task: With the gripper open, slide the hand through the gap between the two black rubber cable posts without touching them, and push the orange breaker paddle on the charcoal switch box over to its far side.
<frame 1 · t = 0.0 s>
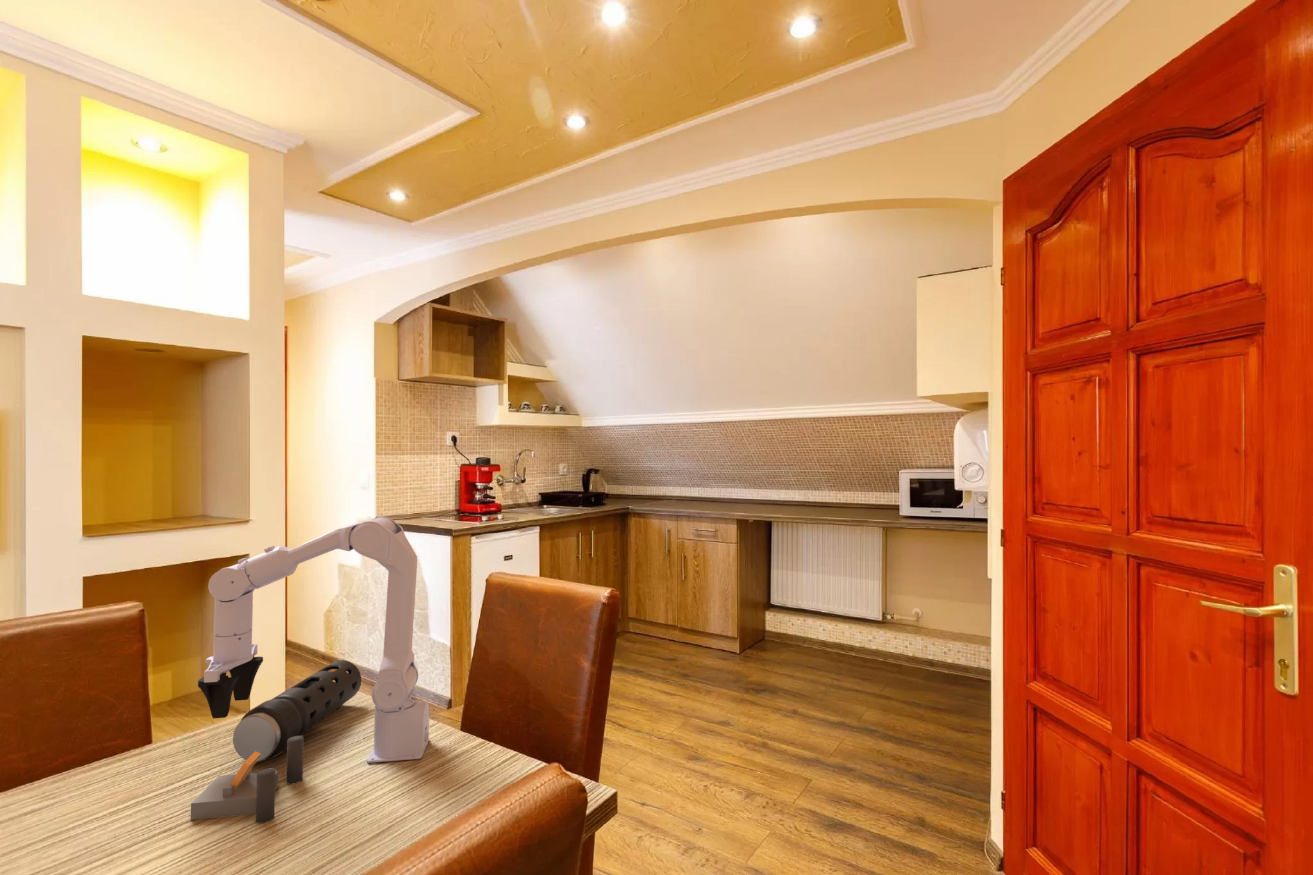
hand: (231, 708, 108), 10 cm above the table, tool pointing down, fingers open, 7 cm apart
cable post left: (265, 818, 92), on the table
breaker paddle: (244, 770, 97), point 5 cm above the table, hinge at -30.0°
switch box: (236, 802, 97), on the table
muzzle brake: (302, 735, 120), on the table
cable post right: (294, 780, 103), on the table
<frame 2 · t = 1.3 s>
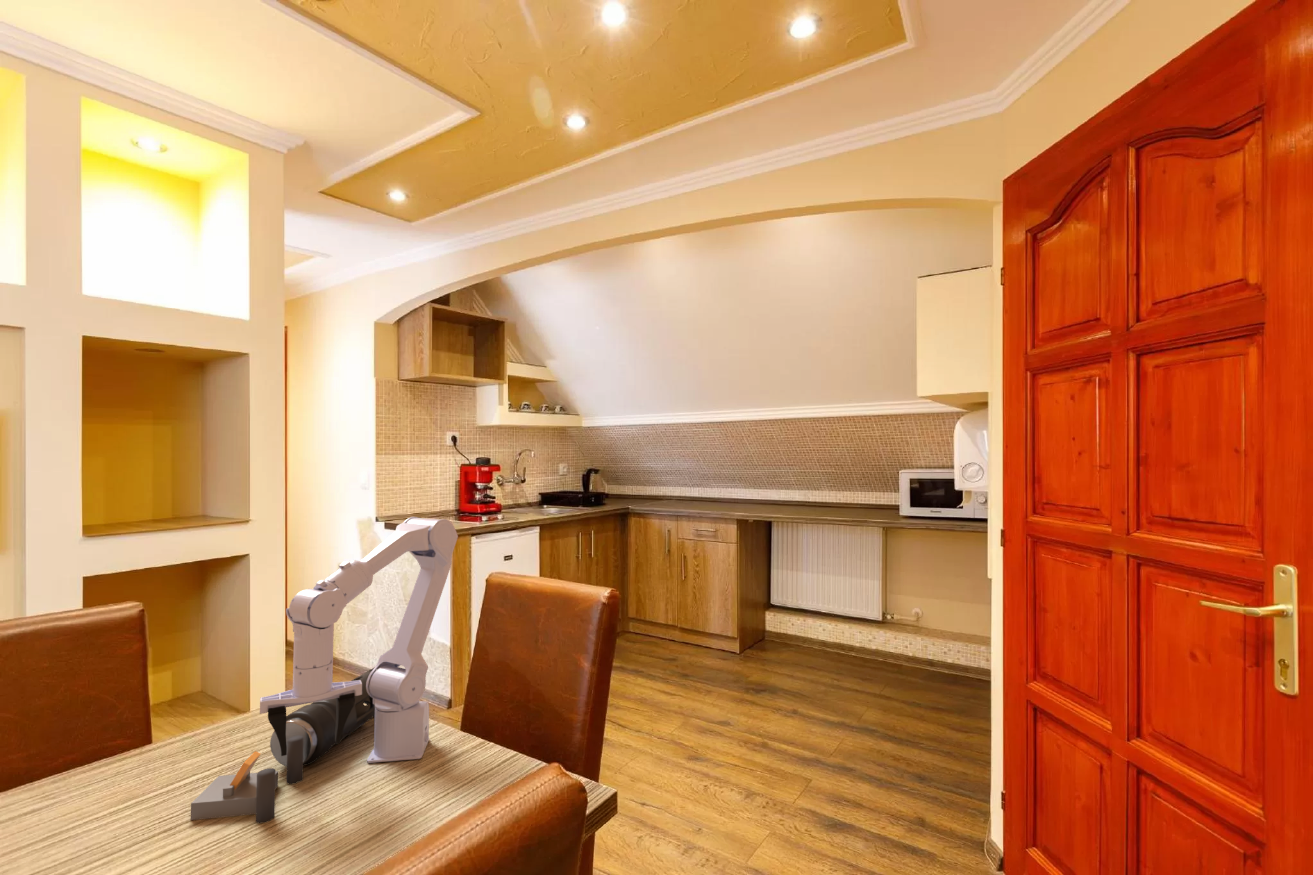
hand: (311, 746, 99), 8 cm above the table, tool pointing down, fingers open, 7 cm apart
muzzle brake: (315, 714, 121), point 4 cm above the table
everything else where it was.
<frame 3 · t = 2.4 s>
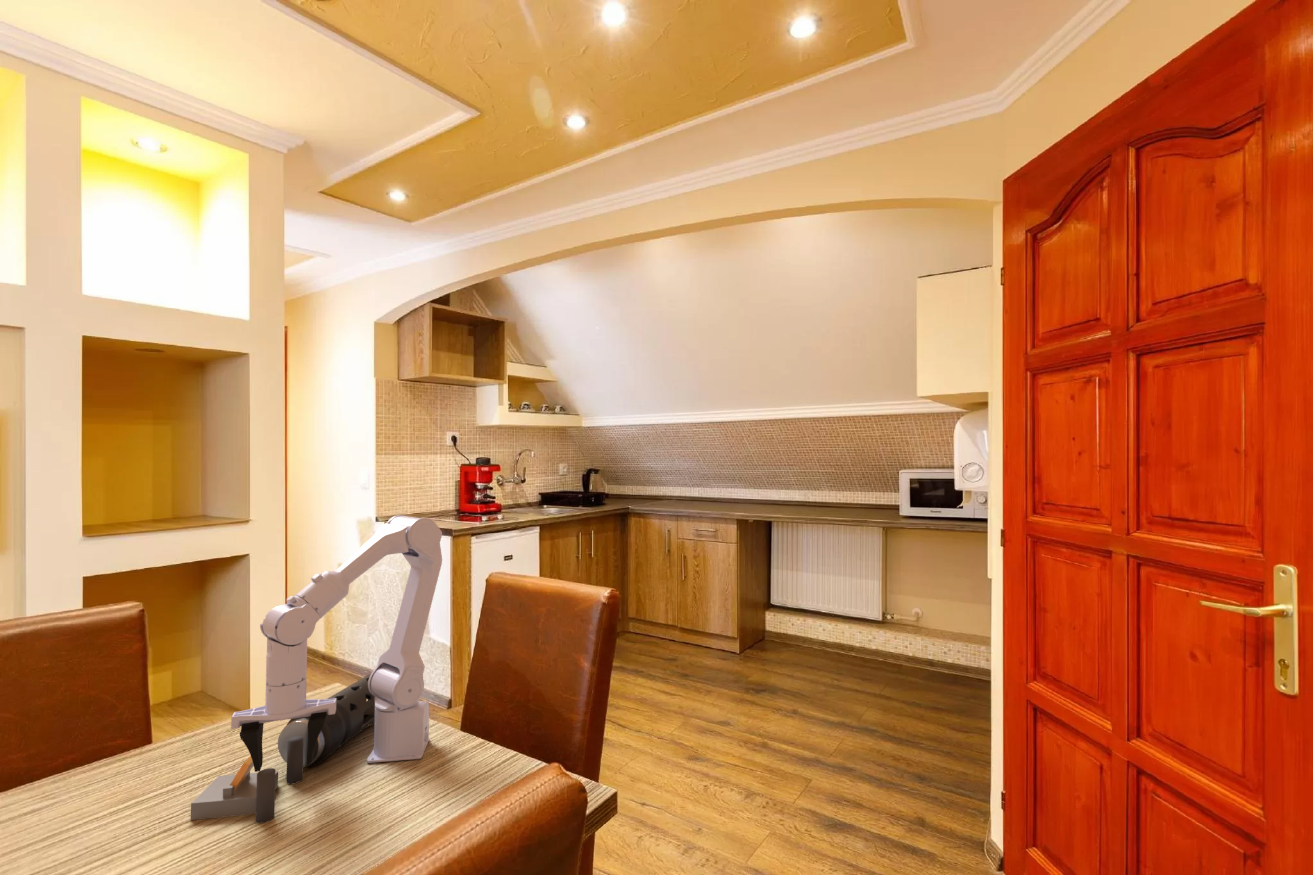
hand: (284, 764, 98), 5 cm above the table, tool pointing down, fingers open, 7 cm apart
breaker paddle: (244, 770, 97), point 5 cm above the table, hinge at -29.9°, touching gripper
muzzle brake: (322, 705, 120), point 6 cm above the table
everything else where it was.
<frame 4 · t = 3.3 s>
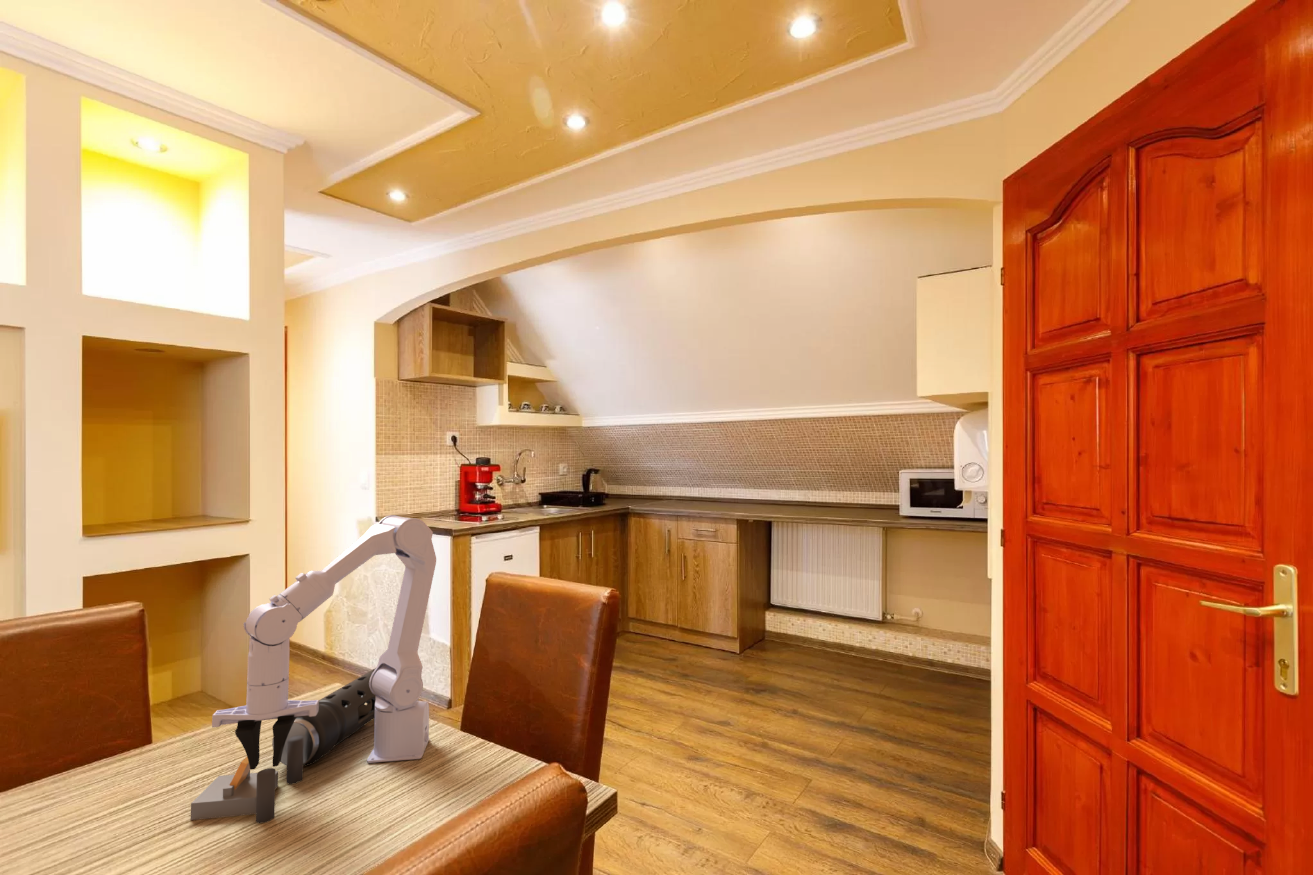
hand: (265, 765, 97), 6 cm above the table, tool pointing down, fingers open, 3 cm apart
breaker paddle: (243, 770, 97), point 5 cm above the table, hinge at -25.1°, touching gripper
muzzle brake: (317, 711, 121), point 4 cm above the table
everything else where it was.
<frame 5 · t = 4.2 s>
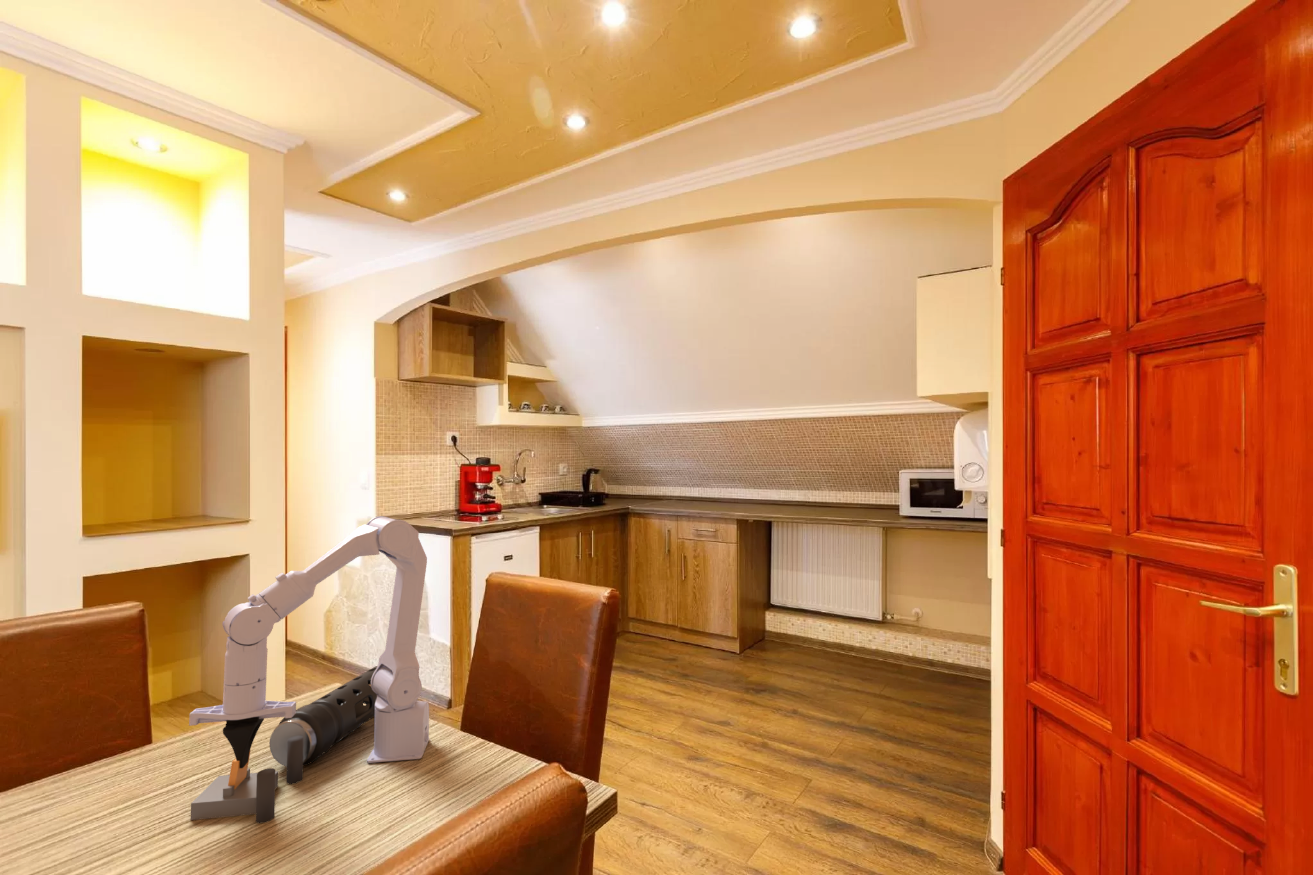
hand: (241, 765, 97), 6 cm above the table, tool pointing down, fingers closed, pressing on breaker paddle
breaker paddle: (239, 769, 97), point 5 cm above the table, hinge at -7.9°, touching gripper
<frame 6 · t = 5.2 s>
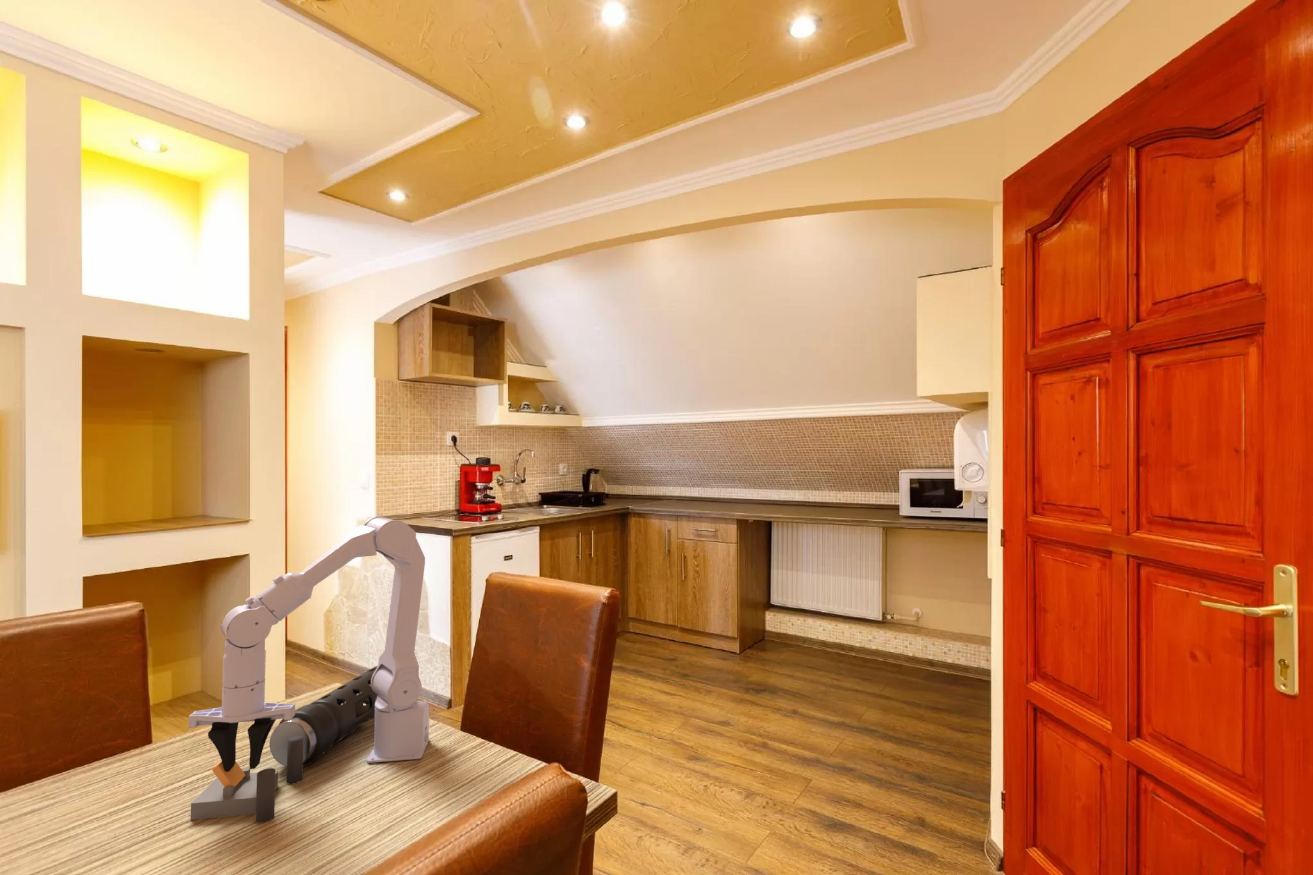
hand: (241, 767, 97), 6 cm above the table, tool pointing down, fingers open, 3 cm apart
breaker paddle: (228, 772, 97), point 5 cm above the table, hinge at 32.8°, touching gripper
everything else where it was.
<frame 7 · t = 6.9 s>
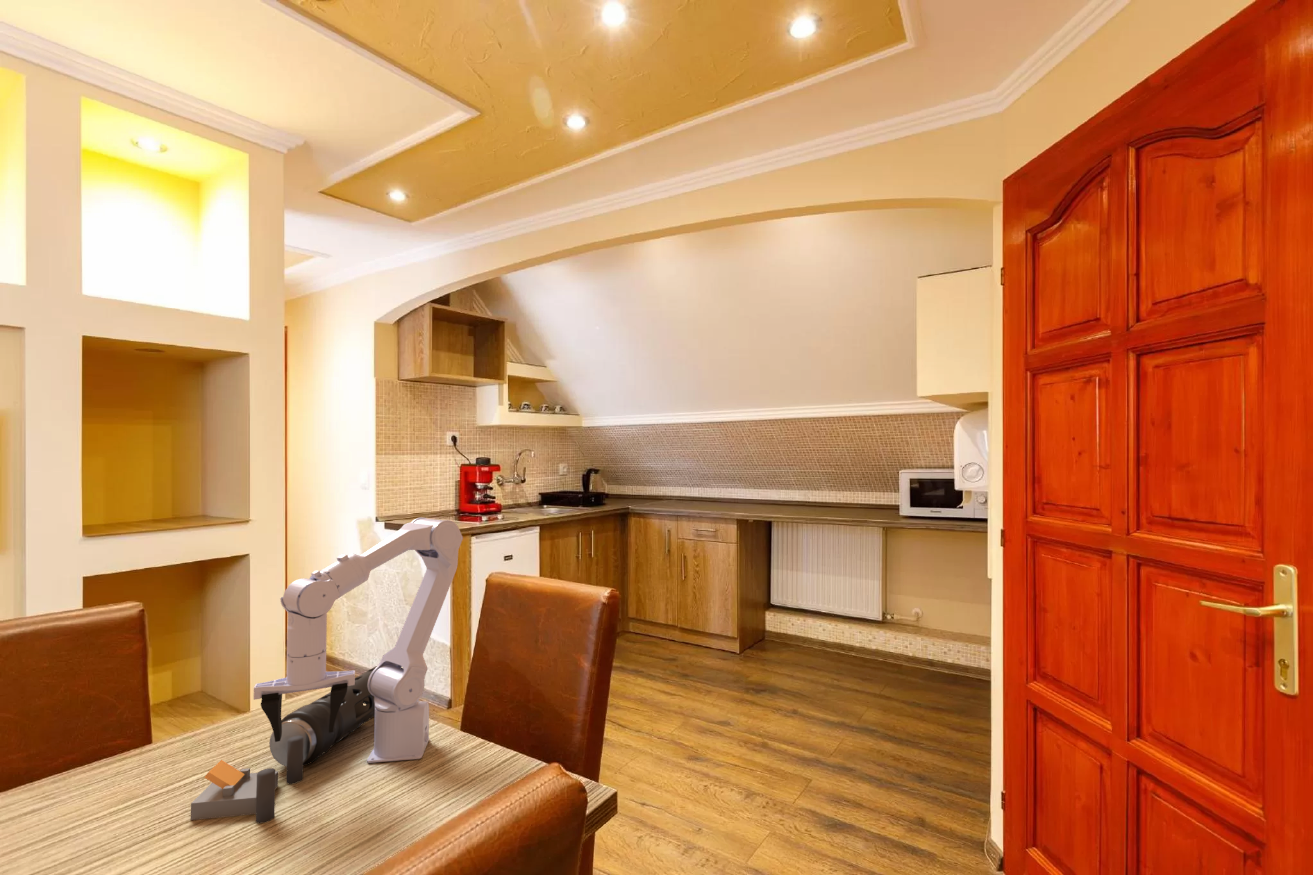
hand: (305, 734, 100), 9 cm above the table, tool pointing down, fingers open, 7 cm apart
breaker paddle: (224, 775, 96), point 4 cm above the table, hinge at 53.0°
everything else where it was.
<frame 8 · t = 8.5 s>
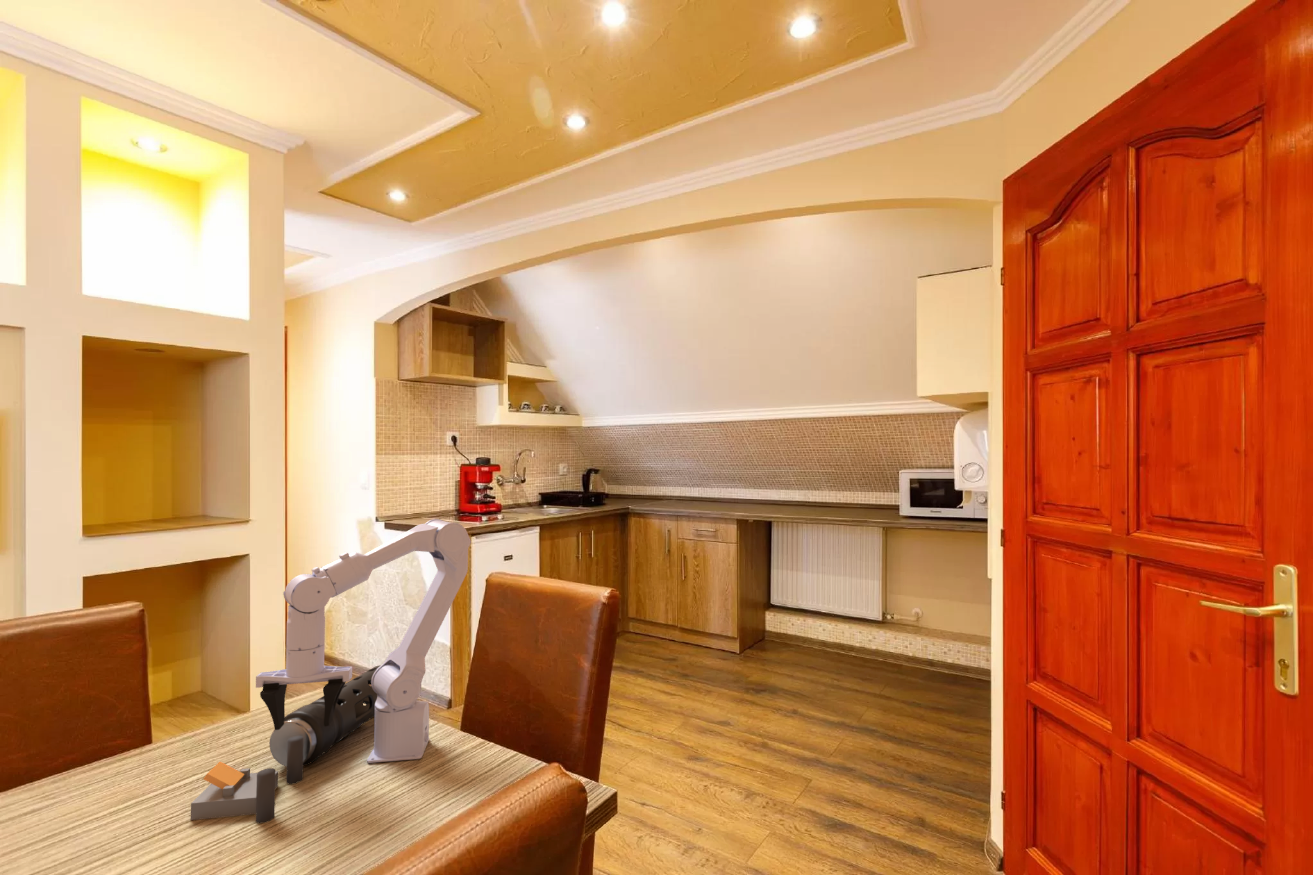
hand: (304, 725, 103), 9 cm above the table, tool pointing down, fingers open, 7 cm apart
breaker paddle: (224, 776, 96), point 4 cm above the table, hinge at 56.8°
everything else where it was.
at the end: breaker paddle at +57° (first picture: -30°); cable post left moved 0.0 cm from its start; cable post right moved 0.0 cm from its start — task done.
